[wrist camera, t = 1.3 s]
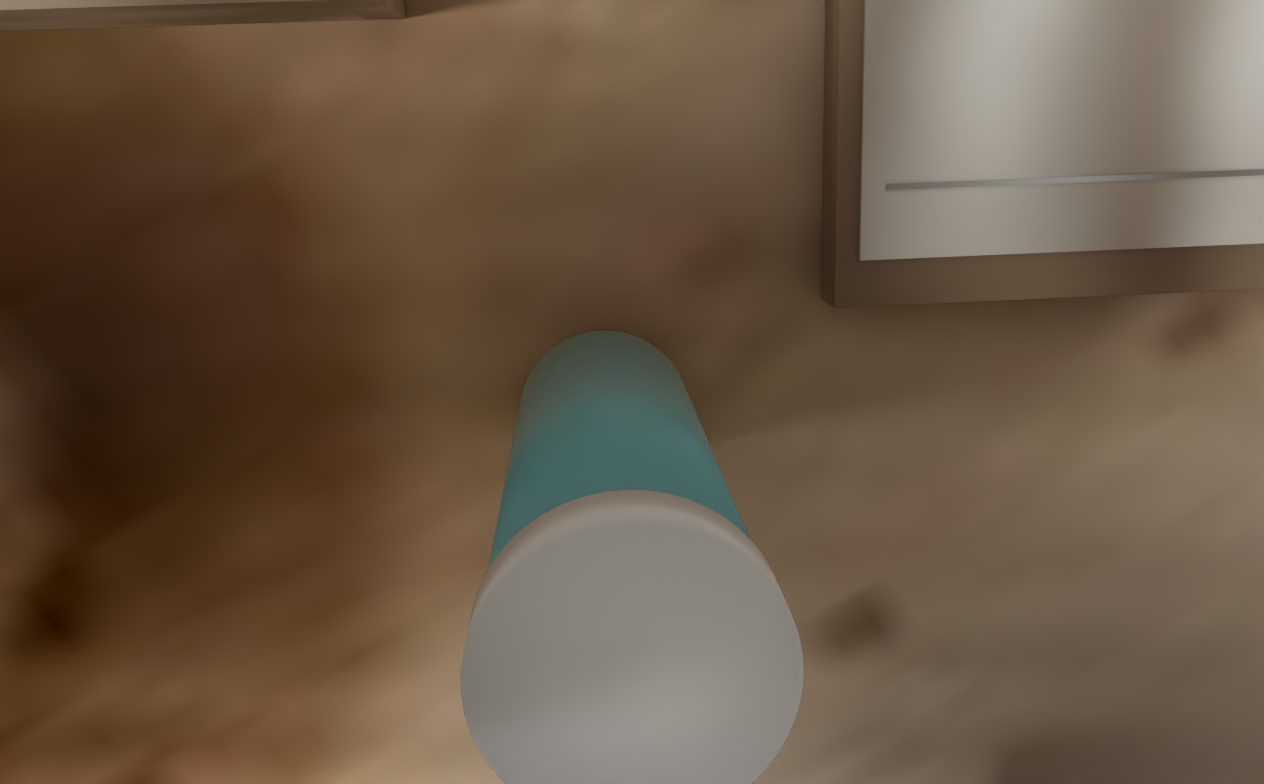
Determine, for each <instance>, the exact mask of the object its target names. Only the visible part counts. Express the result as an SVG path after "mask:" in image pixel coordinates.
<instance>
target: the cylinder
mask: <svg viewBox="0 0 1264 784" xmlns="http://www.w3.org/2000/svg"><path fill="white" fill-rule="evenodd" d="M803 678H804V665H803V652H802V647H801V642H800V638H799V633H798V630H797V627H796V625H795V622H794V619H793V617H792V614H791V612H790V609H789V607H788V605H787V603H786V600H785V598H784V596H783V594H782V591H781V589H780V587H779V585H778V582H777V580H776V578H775V576H774V574H773V572H772V570H771V568H770V566H769V565H768V563H767V561H766V559H765V558H764V556H763V555H762V554H761V552H760V551H759V550H758V548H757V547H756V546H755V544H754V543H753V542H752V541H751V540H750V538H749V536H748V534H747V531H746V529H745V527H744V524H743V522H742V519H741V517H740V515H739V512H738V510H737V508H736V505H735V503H734V501H733V498H732V496H731V494H730V491H729V489H728V486H727V484H726V482H725V479H724V477H723V475H722V472H721V470H720V468H719V465H718V463H717V461H716V458H715V456H714V453H713V451H712V449H711V446H710V444H709V442H708V439H707V437H706V435H705V432H704V430H703V428H702V425H701V423H700V420H699V418H698V416H697V413H696V411H695V409H694V406H693V404H692V402H691V399H690V397H689V395H688V392H687V390H686V387H685V385H684V383H683V380H682V378H681V376H680V374H679V373H678V371H677V369H676V368H675V366H674V365H673V363H672V362H671V361H670V360H669V358H668V357H667V356H666V355H665V354H664V353H663V352H662V351H660V350H659V349H658V348H657V347H655V346H654V345H652V344H651V343H649V342H647V341H646V340H644V339H641V338H639V337H637V336H635V335H631V334H628V333H624V332H618V331H606V330H600V331H591V332H586V333H582V334H578V335H576V336H573V337H570V338H568V339H566V340H564V341H562V342H561V343H559V344H557V345H556V346H555V347H553V348H552V349H550V350H549V351H548V352H547V353H546V354H545V355H544V356H543V357H542V358H541V359H540V360H539V361H538V363H537V364H536V365H535V366H534V368H533V370H532V371H531V373H530V375H529V376H528V379H527V381H526V383H525V385H524V389H523V392H522V396H521V401H520V406H519V412H518V417H517V422H516V427H515V433H514V438H513V443H512V449H511V454H510V459H509V465H508V470H507V475H506V480H505V486H504V491H503V496H502V502H501V507H500V512H499V518H498V523H497V528H496V533H495V539H494V544H493V549H492V555H491V560H490V565H489V569H488V571H487V572H486V574H485V576H484V579H483V581H482V583H481V585H480V588H479V590H478V592H477V596H476V599H475V603H474V606H473V610H472V614H471V619H470V624H469V629H468V634H467V639H466V643H465V648H464V654H463V661H462V668H461V695H462V701H463V708H464V713H465V717H466V720H467V723H468V726H469V729H470V732H471V735H472V737H473V739H474V741H475V743H476V745H477V747H478V749H479V751H480V752H481V754H482V755H483V757H484V758H485V760H486V761H487V763H488V764H489V766H490V767H491V769H492V770H493V771H494V772H495V773H496V774H497V775H498V776H499V778H500V779H501V780H502V781H503V782H504V783H505V784H752V783H753V782H754V781H755V780H756V779H757V778H758V777H759V776H760V775H761V774H762V773H763V772H764V771H765V770H766V768H767V767H768V766H769V765H770V764H771V762H772V761H773V760H774V758H775V757H776V755H777V754H778V753H779V751H780V750H781V748H782V746H783V745H784V743H785V741H786V739H787V737H788V735H789V733H790V732H791V729H792V727H793V724H794V721H795V719H796V716H797V713H798V710H799V705H800V701H801V696H802V691H803Z"/></svg>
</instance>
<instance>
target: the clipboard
mask: <svg viewBox="0 0 1264 784" xmlns="http://www.w3.org/2000/svg"><path fill="white" fill-rule="evenodd" d="M1247 289H1264V0H825V65H824V155H823V245H822V299H823V300H824V301H826V302H827V303H829V304H830V305H832V306H833V307H834V308H844V307H867V306H889V305H912V304H934V303H956V302H979V301H1001V300H1024V299H1046V298H1068V297H1091V296H1113V295H1135V294H1158V293H1180V292H1203V291H1225V290H1247Z"/></svg>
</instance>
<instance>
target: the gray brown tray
mask: <svg viewBox="0 0 1264 784" xmlns="http://www.w3.org/2000/svg"><path fill="white" fill-rule="evenodd" d="M402 18H406V15H405V4H404V0H0V31H22V30H54V29H86V28H117V27H149V26H180V25H212V24H244V23H275V22H307V21H338V20H370V19H402Z"/></svg>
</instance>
